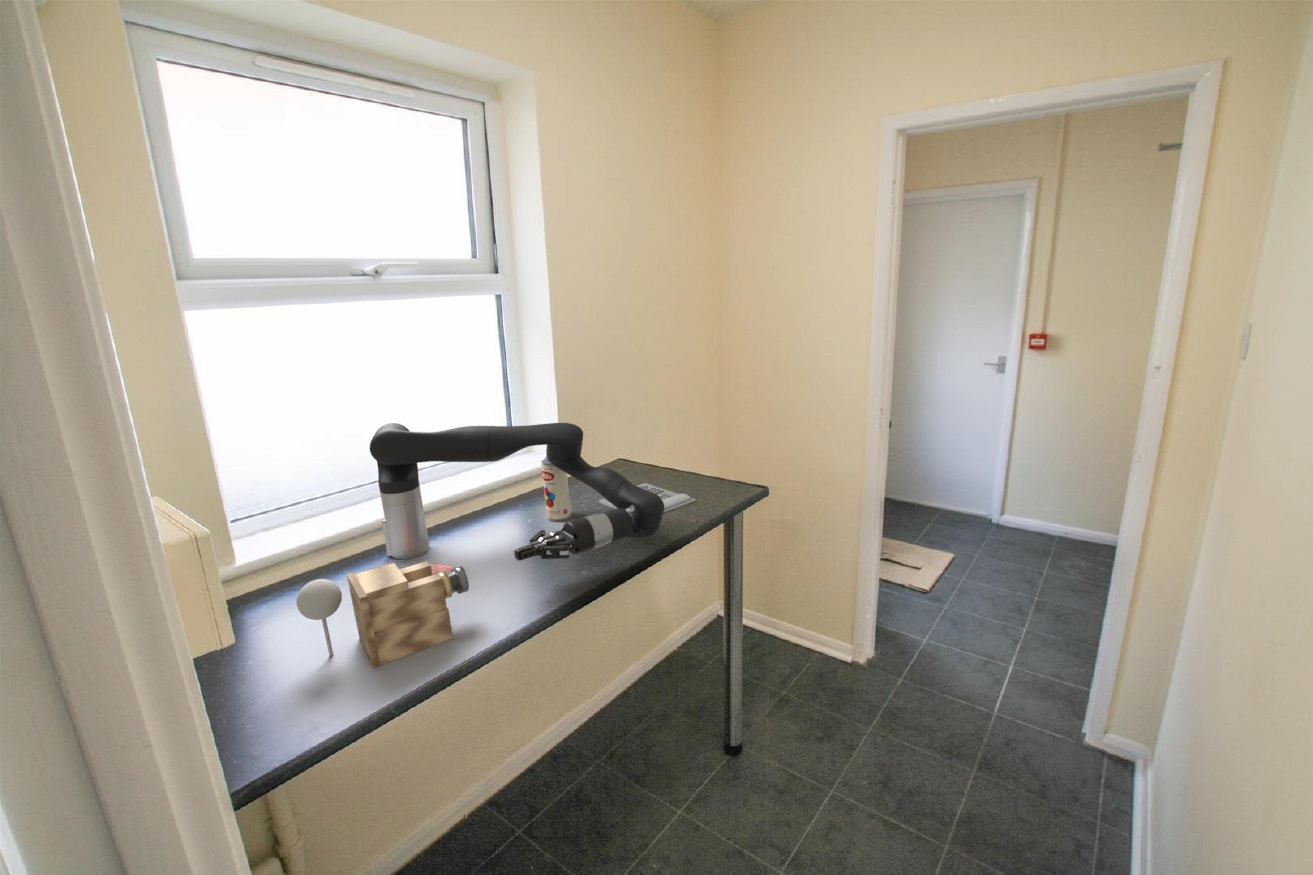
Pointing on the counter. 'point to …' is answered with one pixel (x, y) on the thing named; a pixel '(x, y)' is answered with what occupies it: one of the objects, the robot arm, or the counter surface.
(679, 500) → the office telephone
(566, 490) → the aerosol can
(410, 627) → the bearing block
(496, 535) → the counter surface
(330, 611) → the lollipop
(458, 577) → the shaft
